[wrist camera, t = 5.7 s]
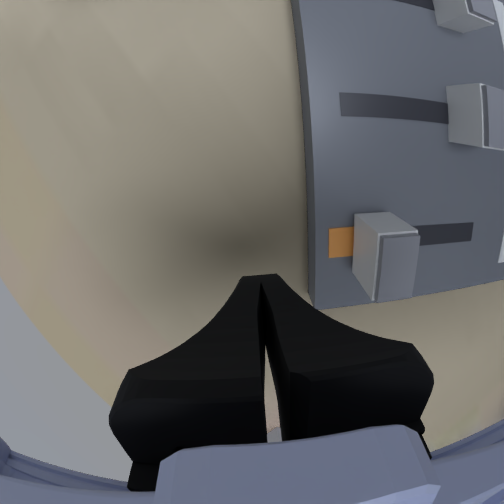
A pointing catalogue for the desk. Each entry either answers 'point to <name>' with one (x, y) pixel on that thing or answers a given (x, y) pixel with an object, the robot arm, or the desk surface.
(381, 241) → the block
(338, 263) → the panel
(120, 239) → the desk surface
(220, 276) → the desk surface
